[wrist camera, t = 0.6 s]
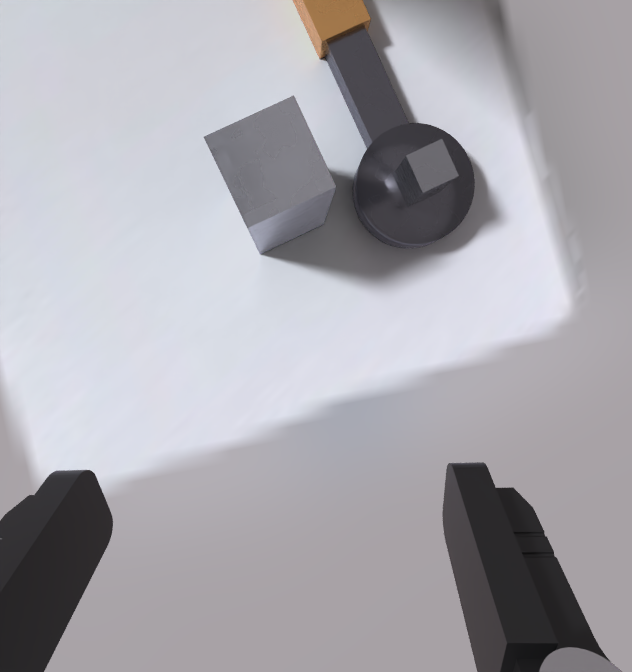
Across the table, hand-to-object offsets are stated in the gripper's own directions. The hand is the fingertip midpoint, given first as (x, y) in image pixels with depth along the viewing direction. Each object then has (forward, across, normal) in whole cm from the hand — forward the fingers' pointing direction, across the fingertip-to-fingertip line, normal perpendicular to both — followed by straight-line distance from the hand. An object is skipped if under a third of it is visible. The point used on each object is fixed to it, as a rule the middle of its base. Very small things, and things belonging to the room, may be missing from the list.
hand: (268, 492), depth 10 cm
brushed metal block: (+25, +3, -1) cm, 25 cm away
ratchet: (+29, -4, -9) cm, 31 cm away
